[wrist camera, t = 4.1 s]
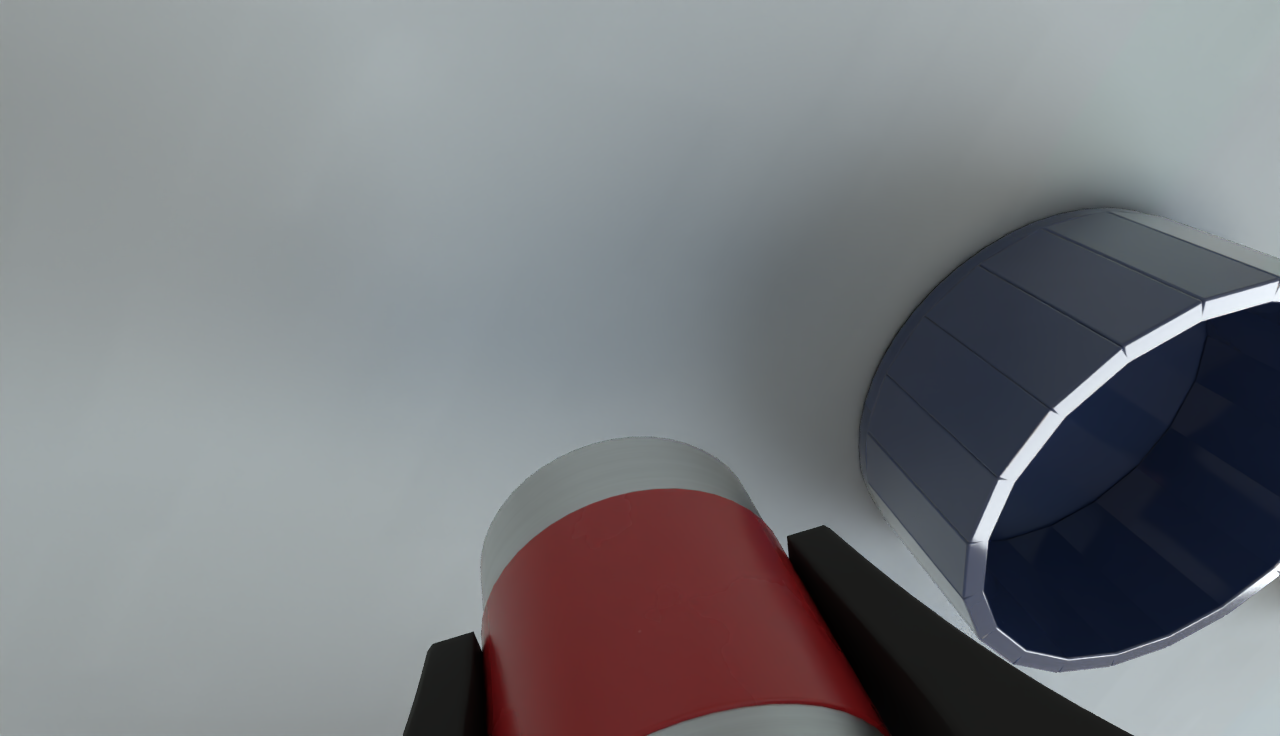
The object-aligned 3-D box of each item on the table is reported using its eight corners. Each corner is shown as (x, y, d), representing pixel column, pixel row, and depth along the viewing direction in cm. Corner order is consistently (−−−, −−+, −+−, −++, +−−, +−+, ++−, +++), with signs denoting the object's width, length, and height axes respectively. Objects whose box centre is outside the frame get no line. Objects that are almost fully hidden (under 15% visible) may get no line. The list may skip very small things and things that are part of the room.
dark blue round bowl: (1165, 488, 27) (1315, 598, 23) (859, 584, 26) (952, 721, 21) (1250, 163, 21) (1481, 221, 16) (854, 265, 20) (984, 362, 15)
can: (764, 605, 14) (966, 1007, 9) (518, 682, 14) (569, 1164, 8) (739, 397, 12) (1000, 775, 6) (438, 481, 11) (436, 977, 6)
